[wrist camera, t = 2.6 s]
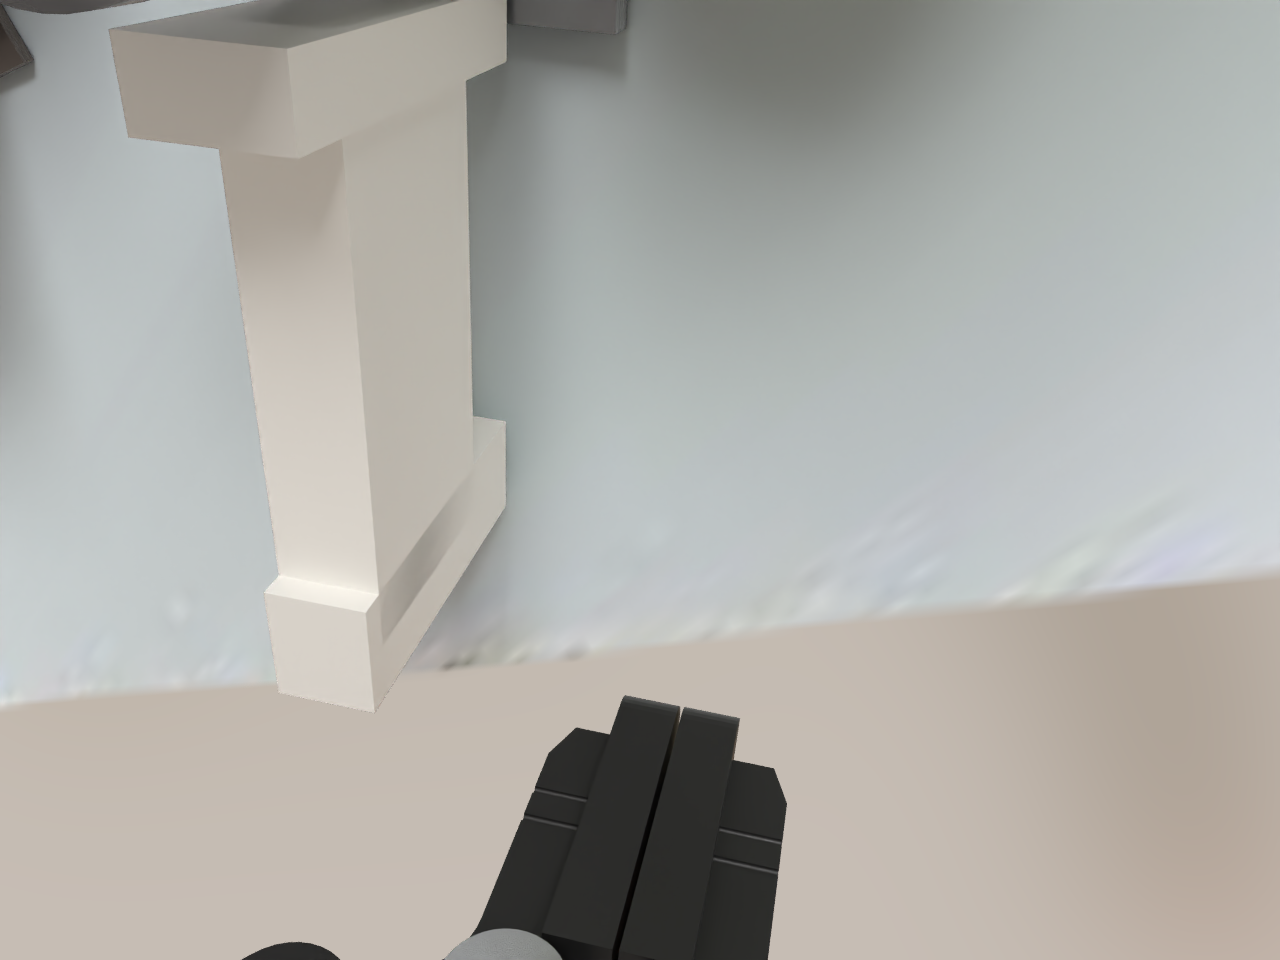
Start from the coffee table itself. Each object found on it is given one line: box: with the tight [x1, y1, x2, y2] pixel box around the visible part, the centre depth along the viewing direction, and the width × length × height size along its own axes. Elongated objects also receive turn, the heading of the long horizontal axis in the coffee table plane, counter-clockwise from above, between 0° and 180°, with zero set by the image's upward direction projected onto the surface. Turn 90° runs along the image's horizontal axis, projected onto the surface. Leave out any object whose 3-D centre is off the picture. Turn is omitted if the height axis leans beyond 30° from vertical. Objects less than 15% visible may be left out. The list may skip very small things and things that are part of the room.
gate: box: [109, 0, 507, 713], centre depth 18 cm, size 11×2×8 cm, turn 176°
